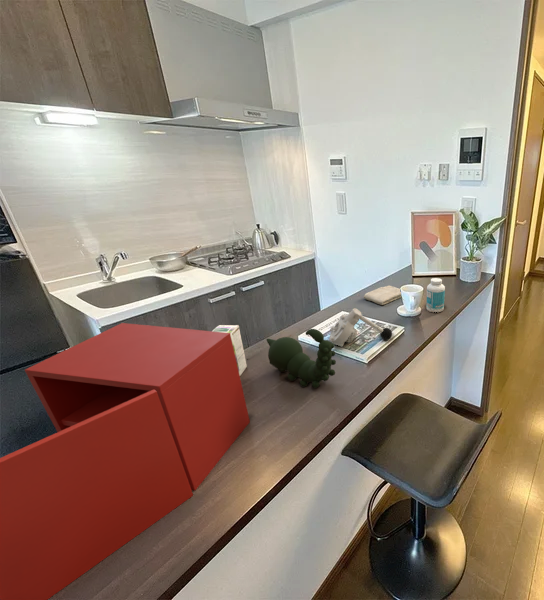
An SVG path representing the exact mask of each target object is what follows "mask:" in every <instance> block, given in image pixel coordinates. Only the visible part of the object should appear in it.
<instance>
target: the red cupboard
mask: <svg viewBox="0 0 544 600" xmlns="http://www.w3.org/2000/svg"><path fill="white" fill-rule="evenodd" d="M24 372H25V374H26V376H27V378H28V380H29V381H30V383H31V385H32V387H33V389H34V391H35V393H36V394H37V397H38V399H39V400H40V402H41V404H42V406H43V408H44V410H45V412H46V414H47V415H48V417H49V420H50V421H51V423H52V425H53V426H54V428H55V431H56V433H57V432H60V431H62V430H64V429H66V428H69V427H71V426H73V425H75V424H78V423H80V422H82V421H84V420H87V419H89V418H91V417H93V416H95V415H98V414H100V413H102V412H104V411H107V410H109V409H111V408H113V407H116V406H118V405H120V404H122V403H125V402H127V401H129V400H131V399H133V398H136V397H138V396H140V395H142V394H145V393H147V392H149V391H151V390H155V391H157V394H158V397H159V400H160V403H161V405H162V408H163V411H164V414H165V417H166V420H167V422H168V425H169V428H170V431H171V434H172V437H173V439H174V442H175V445H176V448H177V451H178V454H179V456H180V459H181V462H182V465H183V468H184V471H185V473H186V476H187V479H188V482H189V485H190V488H191V490H192V491H196V490H197V489H198V488H199V487H200V486H201V485H202V483H203V482H204V481H205V479H206V478H207V476H209V474H210V473H211V472H212V470H213V469H214V468H215V467H216V465H217V464H218V463H219V461H220V460H221V459H222V458H223V456H224V455H225V454H226V453H227V451H228V450H229V449H230V447H231V446H233V444H234V442H235V441H236V440H237V439H238V438H239V436H240V435H241V434H242V432H243V431H244V430H245V429H246V427H247V426H248V425H249V424H250V423H251V420H250V416H249V411H248V407H247V403H246V397H245V394H244V389H243V385H242V381H241V375H239V371H238V367H237V362H236V358H235V353H234V349H233V344H232V340H231V335H230V333H224V332H213V330H212V331H211V330H201V329H191V328H190V329H189V328H181V327H171V326H160V325H159V326H158V325H148V324H137V323H125V322H121V323H119V324H117V325H115V326H112V327H110V328H108V329H107V330H104V331H102V332H101V333H98V334H96V335H94V336H92V337H90V338H88V339H86V340H83V341H82V342H79V343H78V344H75V345H73V346H71V347H69V348H67V349H65V350H63V351H61V352H58V353H57V354H54V355H52V356H50V357H48V358H46V359H44V360H42V361H40V362H38V363H36V364H34V365H32V366H29V367H27V368H25V369H24Z"/></svg>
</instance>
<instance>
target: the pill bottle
mask: <svg viewBox="0 0 544 600" xmlns="http://www.w3.org/2000/svg"><path fill="white" fill-rule="evenodd" d="M445 296H446V286H445V285H444V284H443V279H442V278H439V277H433V278H430V283H429V284H427V286H426V311H428V312H430V313H434V312H435V313H436V312H437V313H441V312H443V311H444V309H445ZM437 313H436V314H437Z"/></svg>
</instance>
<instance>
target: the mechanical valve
mask: <svg viewBox="0 0 544 600" xmlns="http://www.w3.org/2000/svg"><path fill="white" fill-rule="evenodd" d="M359 321H362V322H363V323H365V325H369V327H372V328H373V329H374V330H375V331H377V332H379V334H380V338H381V339H382V340H386V341H387V340H390V339H391V338H392V337H393V332H392V329H391V328H389V327H384V328H383V327H382V328H381V326H379V325H377V324H376V323H375V322H373V321H371V320H370V319H368V318H366V317H365V316H364V315H363V313H362V312H361V311H360V310H359V309H358V308H356V307H355V308H352V309H351V311H349V313H348V314H341V316H340V318H339V319H338V321H336V323H335V325H332V326H331V327H330V329H329V331H330V334H329V341H330V342H331V344H334V345H336V346H337V345H338V347H341V348H343V346H344V345H345V342H346V343H348V344H351V343H352V342H353V341H354V340H355V338H356V336H357V334H358V330H357V329H356V328H355V326H356V324H358V323H359Z"/></svg>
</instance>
